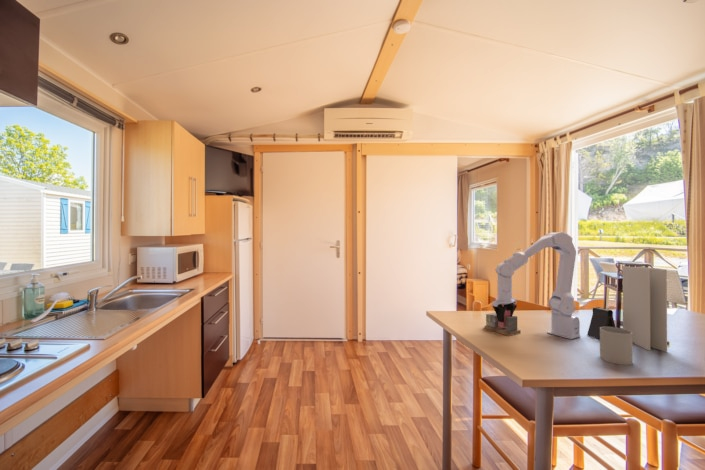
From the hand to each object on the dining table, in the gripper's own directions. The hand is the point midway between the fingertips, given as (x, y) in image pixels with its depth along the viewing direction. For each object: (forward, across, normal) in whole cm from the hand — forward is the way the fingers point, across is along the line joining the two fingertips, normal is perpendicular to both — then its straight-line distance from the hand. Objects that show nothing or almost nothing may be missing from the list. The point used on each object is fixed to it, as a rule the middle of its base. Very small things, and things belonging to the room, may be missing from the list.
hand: (504, 320), depth 132 cm
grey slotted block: (+5, 0, -1) cm, 5 cm away
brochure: (+5, -33, +36) cm, 49 cm away
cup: (+5, -5, +37) cm, 38 cm away
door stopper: (+5, -30, +24) cm, 39 cm away
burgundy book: (+2, 0, 0) cm, 2 cm away
